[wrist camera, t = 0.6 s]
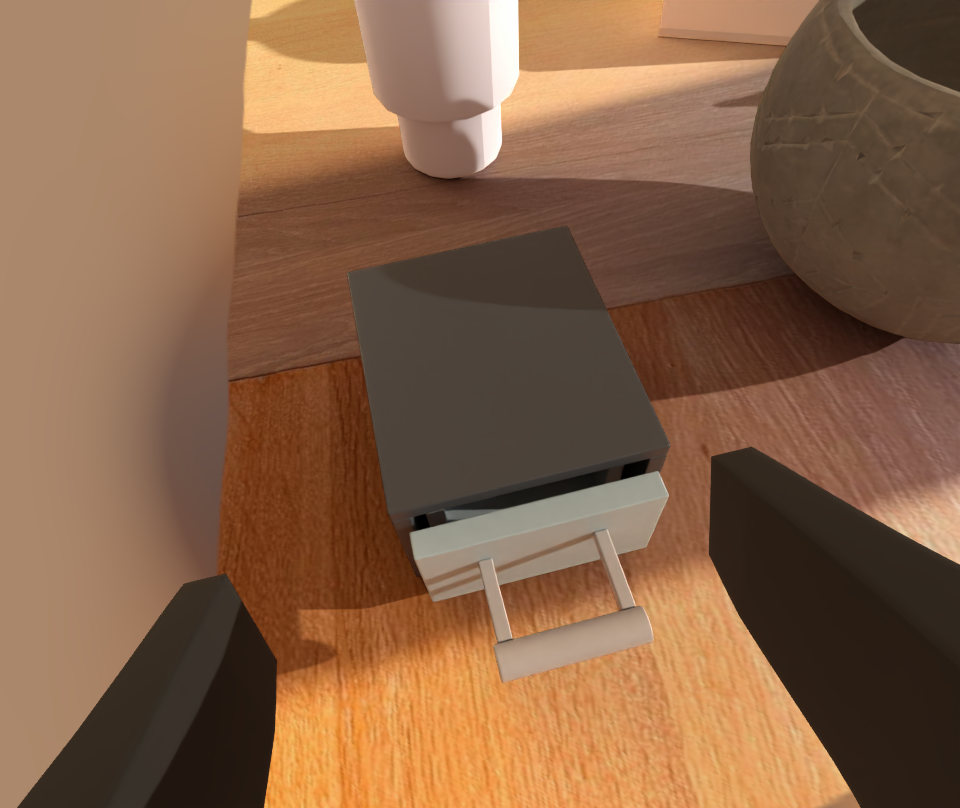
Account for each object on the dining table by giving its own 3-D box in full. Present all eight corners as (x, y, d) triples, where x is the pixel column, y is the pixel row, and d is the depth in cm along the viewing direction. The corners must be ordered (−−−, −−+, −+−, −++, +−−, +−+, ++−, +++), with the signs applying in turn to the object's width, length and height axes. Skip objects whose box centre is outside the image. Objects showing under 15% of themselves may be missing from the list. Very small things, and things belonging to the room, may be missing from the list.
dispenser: (642, 519, 32) (671, 445, 25) (416, 577, 31) (387, 514, 24) (560, 320, 39) (567, 224, 33) (376, 362, 38) (346, 271, 32)
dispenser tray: (687, 648, 27) (722, 612, 23) (454, 711, 27) (438, 688, 22) (565, 347, 37) (572, 276, 32) (390, 388, 36) (369, 321, 31)
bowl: (688, 168, 46) (747, -73, 34) (983, 149, 45) (1157, -106, 33) (763, 410, 35) (897, 180, 22) (1162, 392, 34) (1537, 141, 21)
